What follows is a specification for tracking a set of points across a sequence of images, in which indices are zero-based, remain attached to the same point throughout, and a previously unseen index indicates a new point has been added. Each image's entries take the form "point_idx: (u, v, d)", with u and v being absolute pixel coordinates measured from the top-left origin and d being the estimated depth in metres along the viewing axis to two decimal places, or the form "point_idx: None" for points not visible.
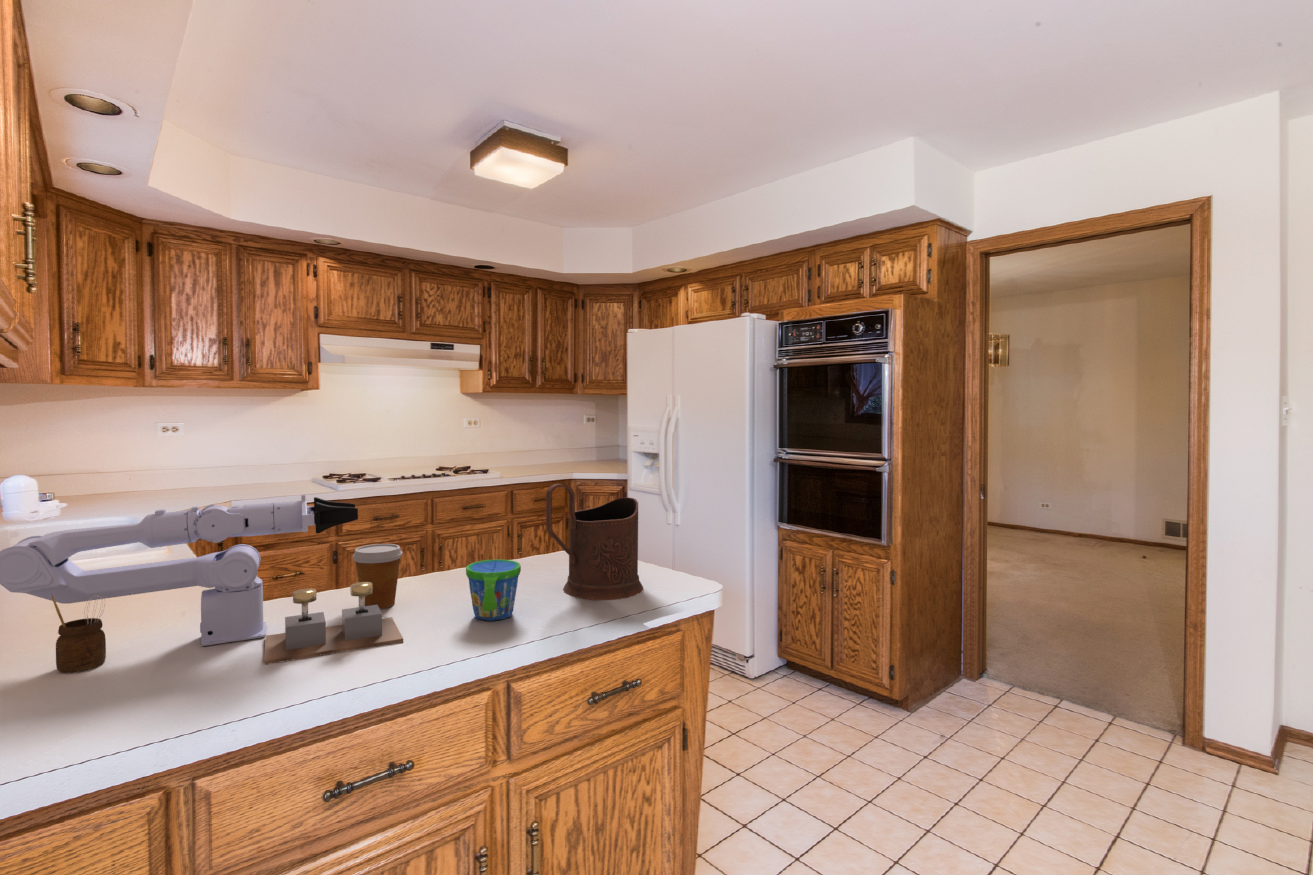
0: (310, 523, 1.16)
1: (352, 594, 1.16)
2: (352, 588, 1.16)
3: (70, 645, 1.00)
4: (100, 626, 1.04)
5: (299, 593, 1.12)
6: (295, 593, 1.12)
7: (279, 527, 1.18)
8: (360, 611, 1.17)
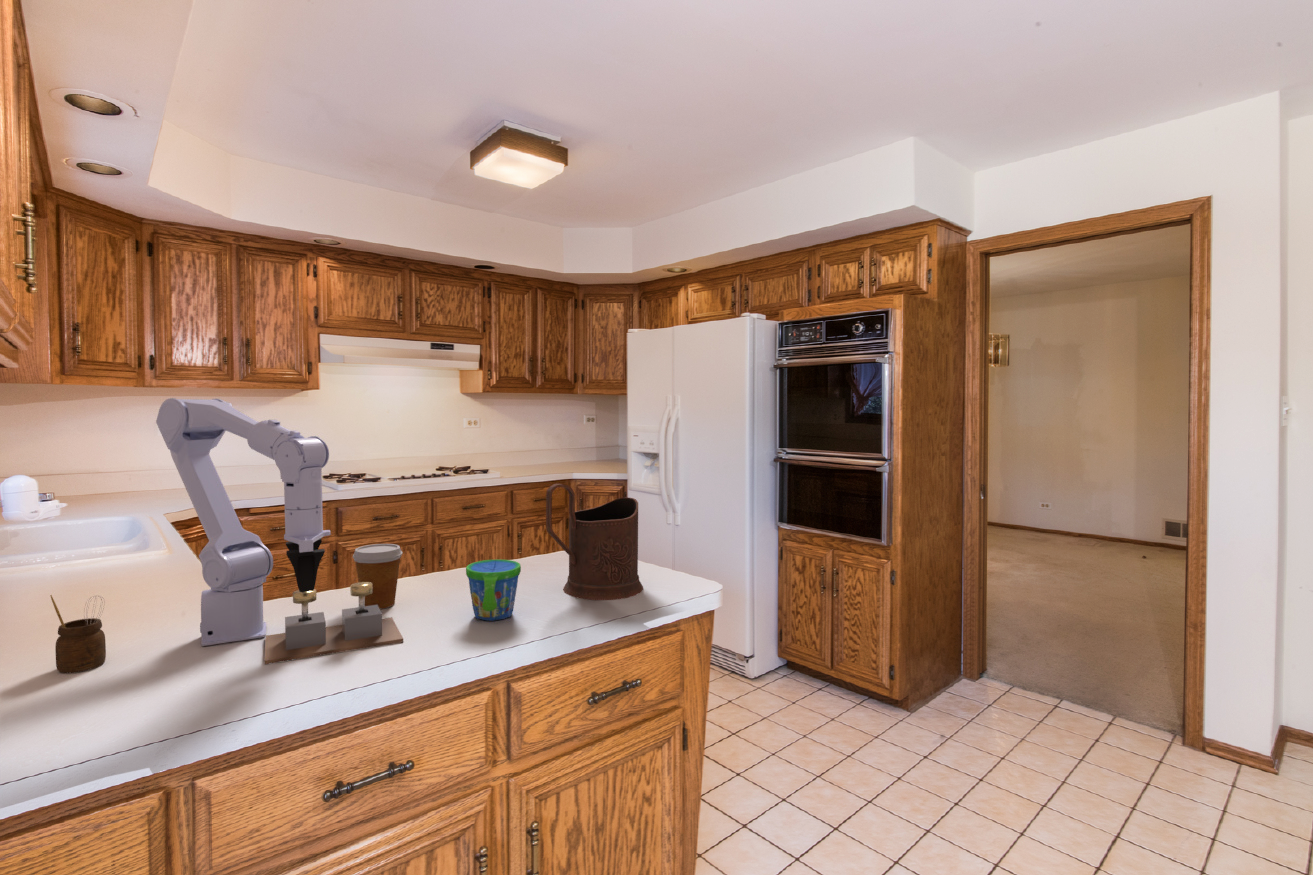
0: (302, 548, 1.06)
1: (352, 594, 1.16)
2: (352, 588, 1.16)
3: (70, 645, 1.00)
4: (100, 626, 1.03)
5: (299, 593, 1.12)
6: (295, 593, 1.12)
7: (294, 514, 1.09)
8: (360, 611, 1.17)
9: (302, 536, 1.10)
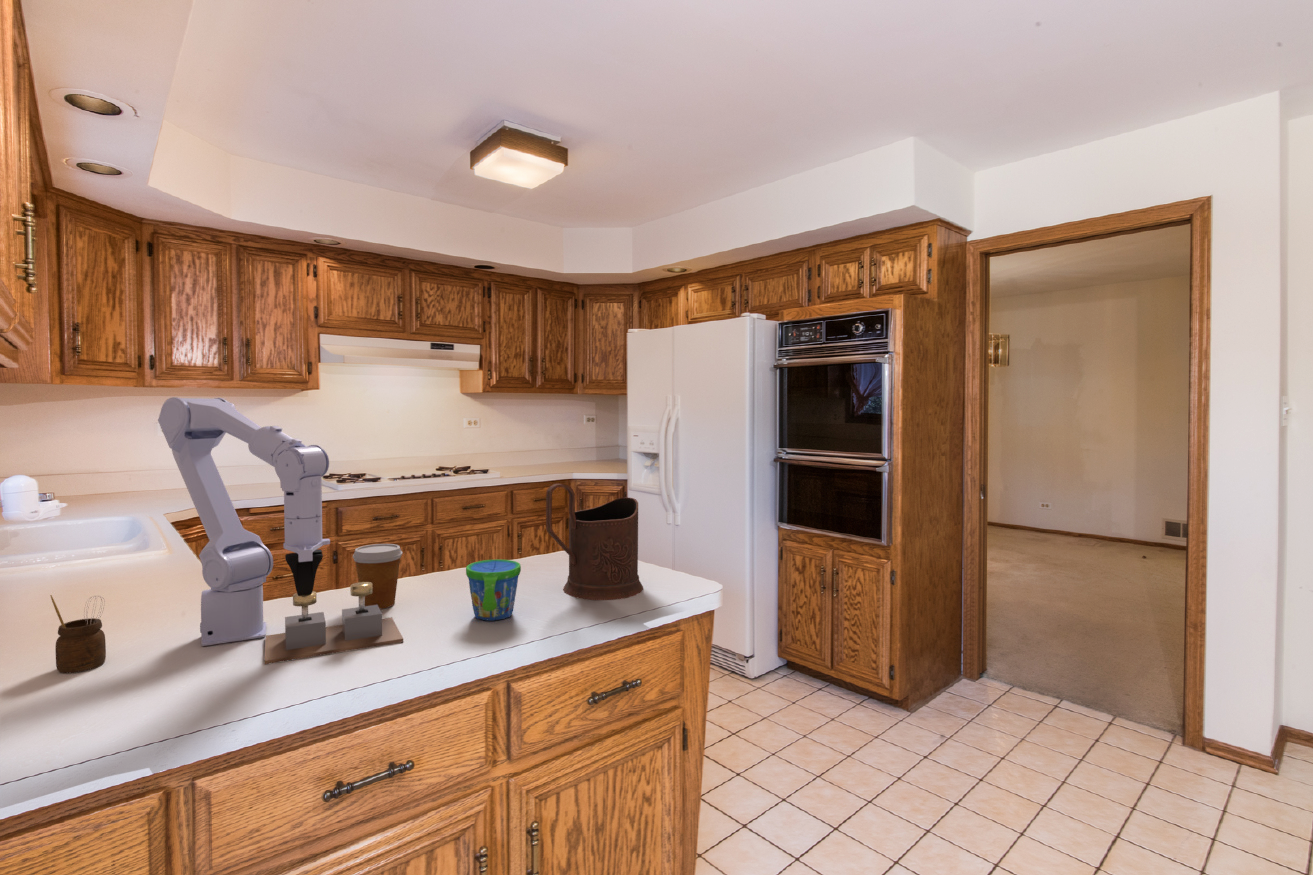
0: (301, 558, 1.06)
1: (352, 594, 1.16)
2: (352, 588, 1.16)
3: (70, 645, 1.00)
4: (100, 626, 1.03)
5: (299, 596, 1.12)
6: (295, 596, 1.12)
7: (294, 523, 1.09)
8: (360, 611, 1.17)
9: (301, 545, 1.10)
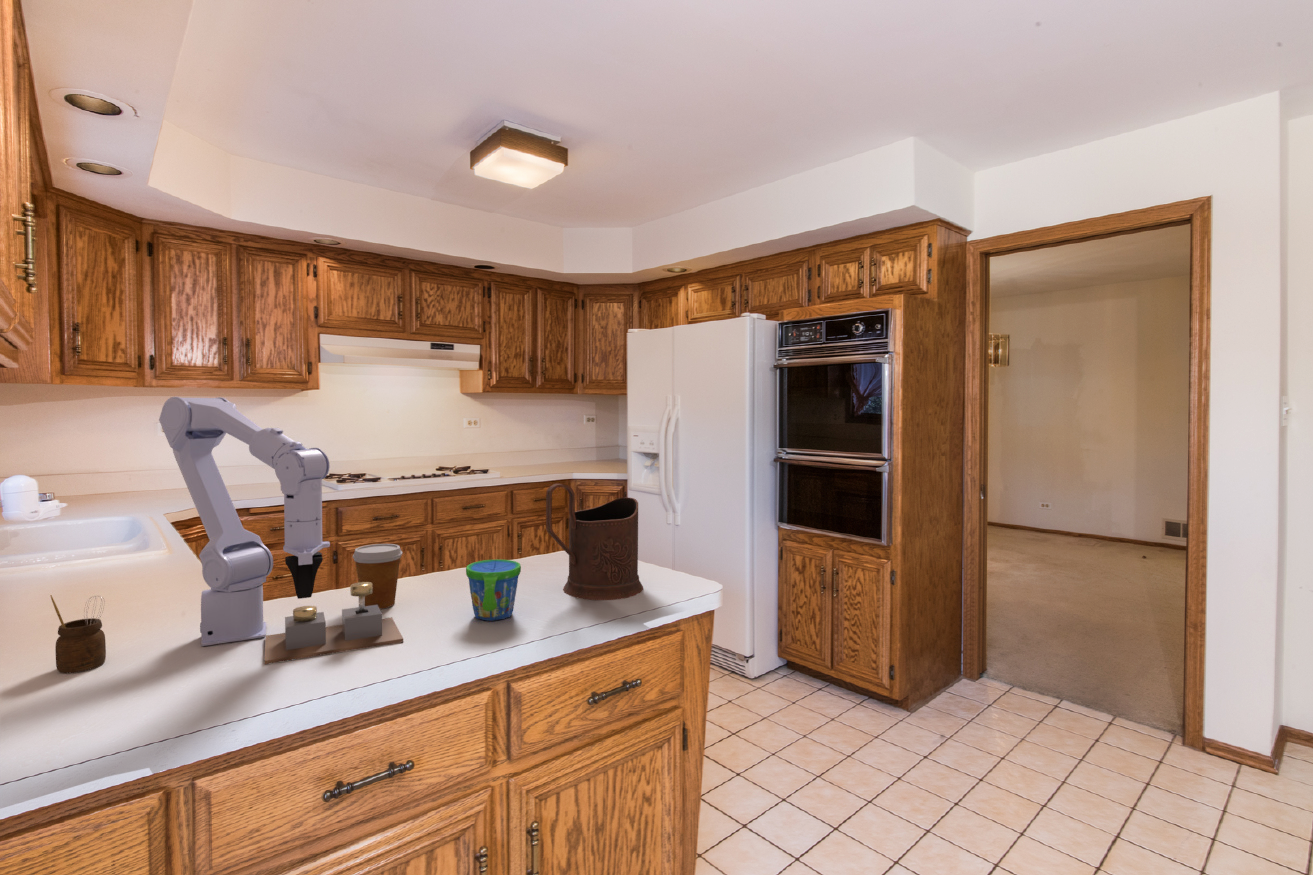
0: (301, 561, 1.06)
1: (352, 594, 1.16)
2: (352, 588, 1.16)
3: (70, 645, 1.00)
4: (100, 626, 1.03)
5: (299, 611, 1.12)
6: (295, 611, 1.12)
7: (294, 526, 1.09)
8: (360, 611, 1.17)
9: (301, 548, 1.10)
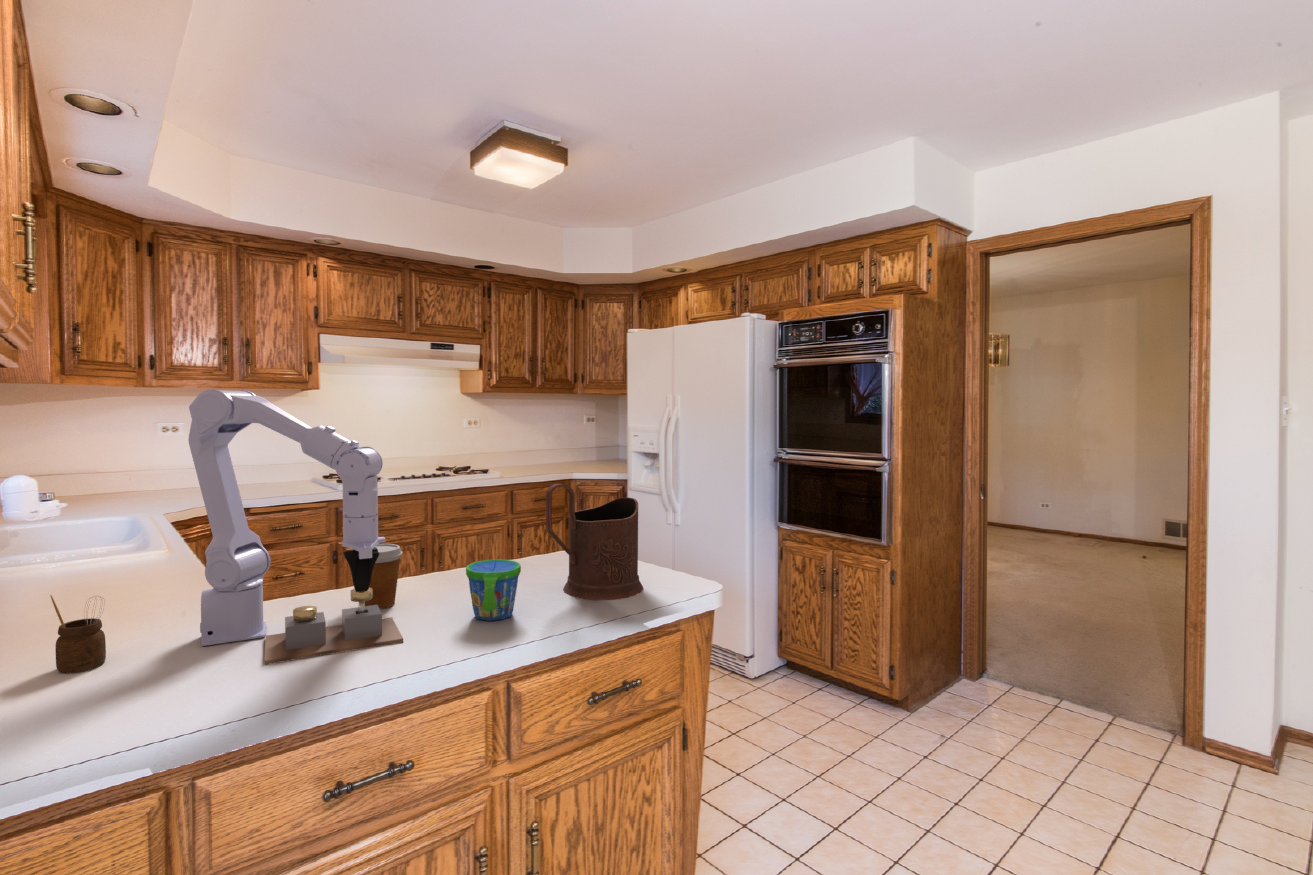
0: (362, 555, 1.10)
1: (352, 599, 1.16)
2: (352, 593, 1.16)
3: (70, 645, 1.00)
4: (100, 626, 1.03)
5: (299, 611, 1.12)
6: (295, 611, 1.12)
7: (353, 522, 1.14)
8: None
9: (360, 543, 1.14)
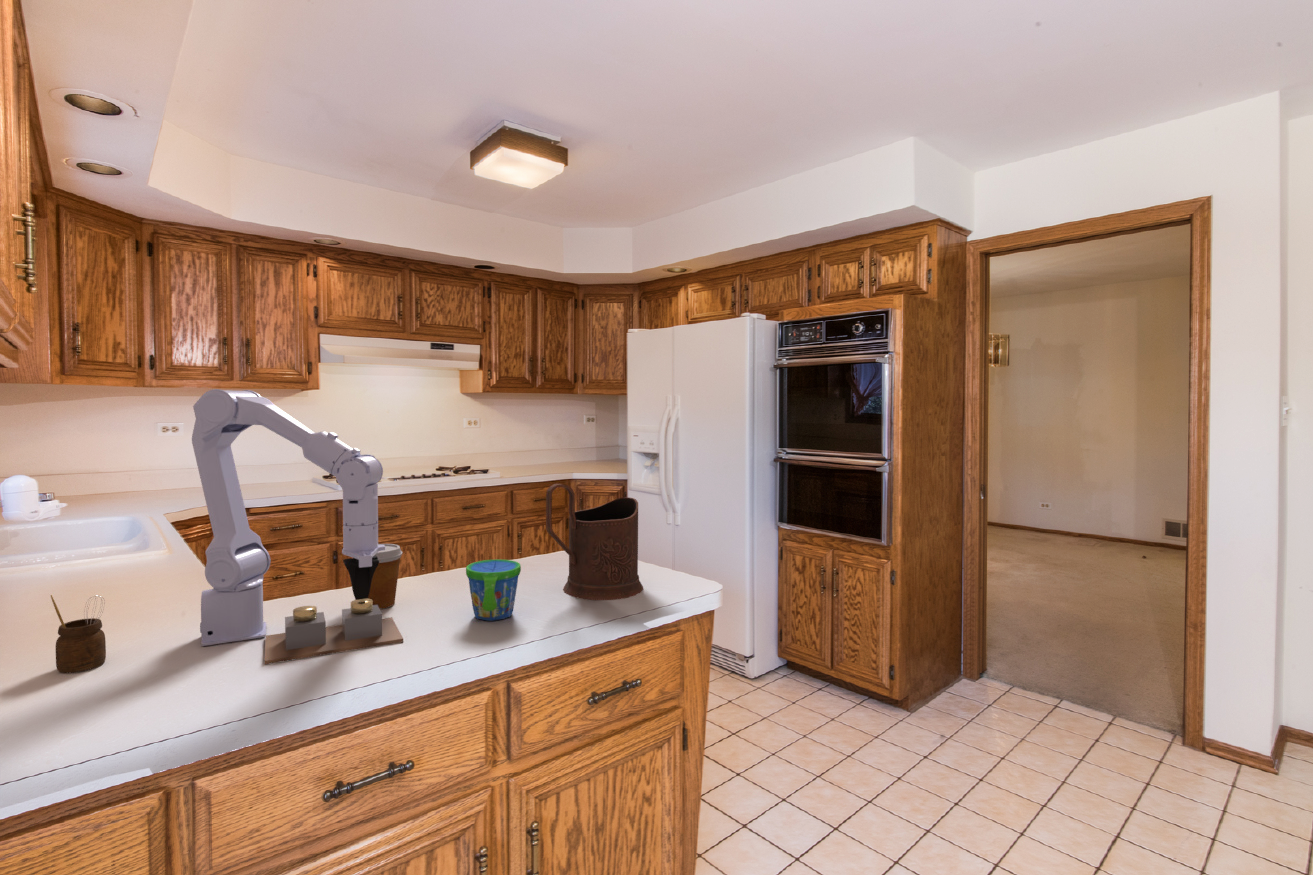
0: (361, 563, 1.11)
1: (352, 611, 1.16)
2: (352, 605, 1.16)
3: (70, 645, 1.00)
4: (100, 626, 1.03)
5: (299, 611, 1.12)
6: (295, 611, 1.12)
7: (353, 530, 1.14)
8: None
9: (360, 551, 1.14)
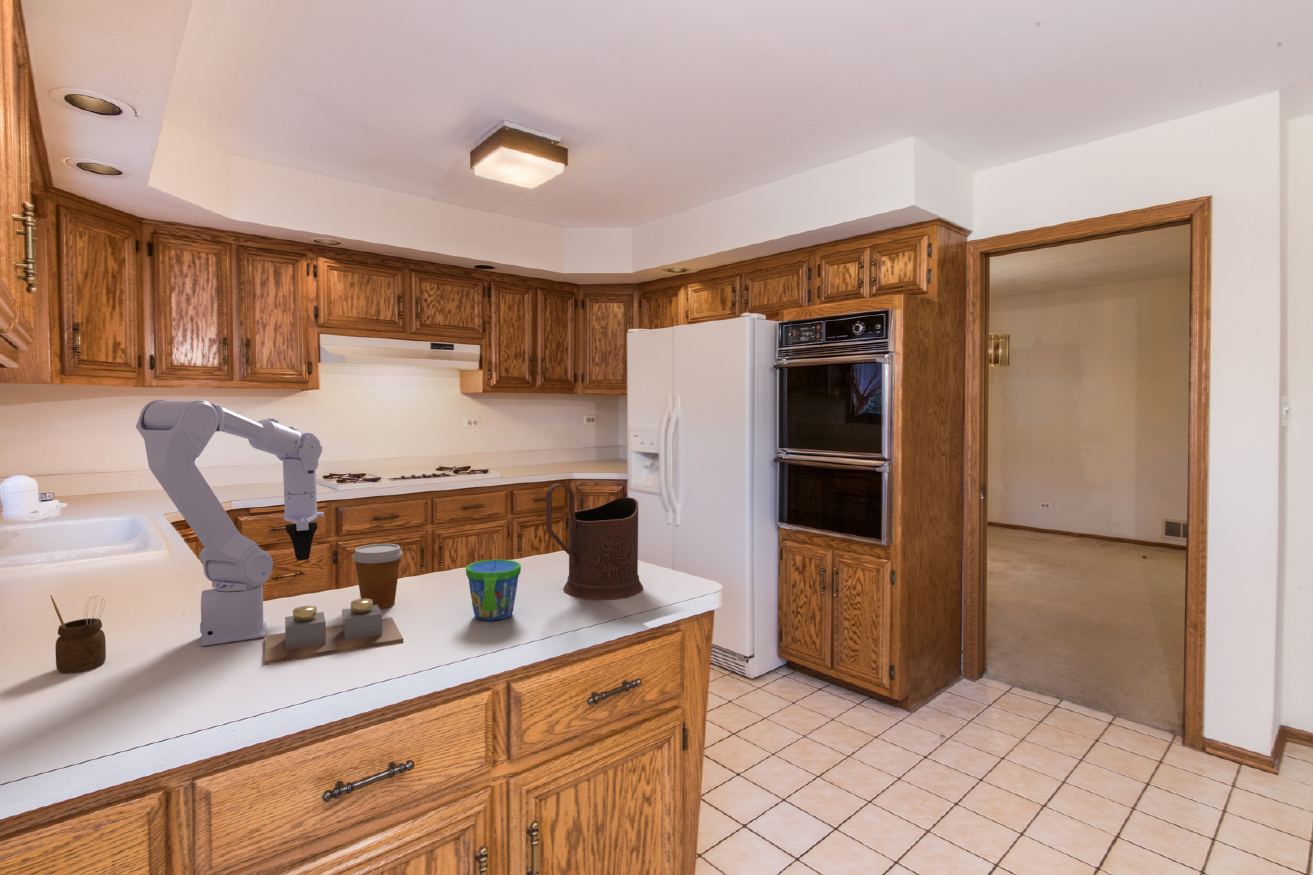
0: (299, 527, 1.24)
1: (352, 611, 1.16)
2: (352, 605, 1.16)
3: (70, 645, 1.00)
4: (100, 626, 1.03)
5: (299, 611, 1.12)
6: (295, 611, 1.12)
7: (292, 498, 1.28)
8: None
9: (299, 517, 1.28)
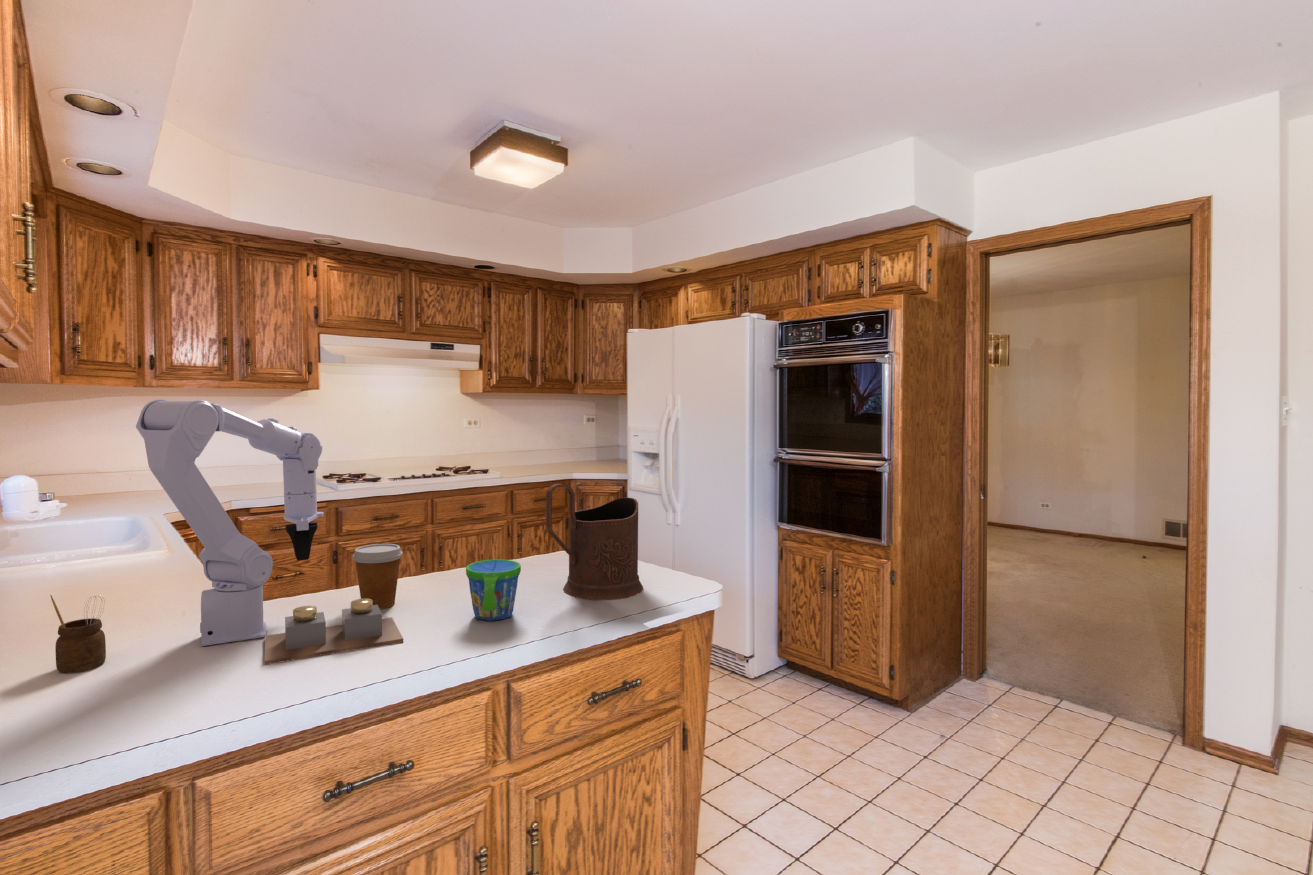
0: (299, 527, 1.24)
1: (352, 611, 1.16)
2: (352, 605, 1.16)
3: (70, 645, 1.00)
4: (100, 626, 1.03)
5: (299, 611, 1.12)
6: (295, 611, 1.12)
7: (292, 498, 1.28)
8: None
9: (299, 517, 1.28)
